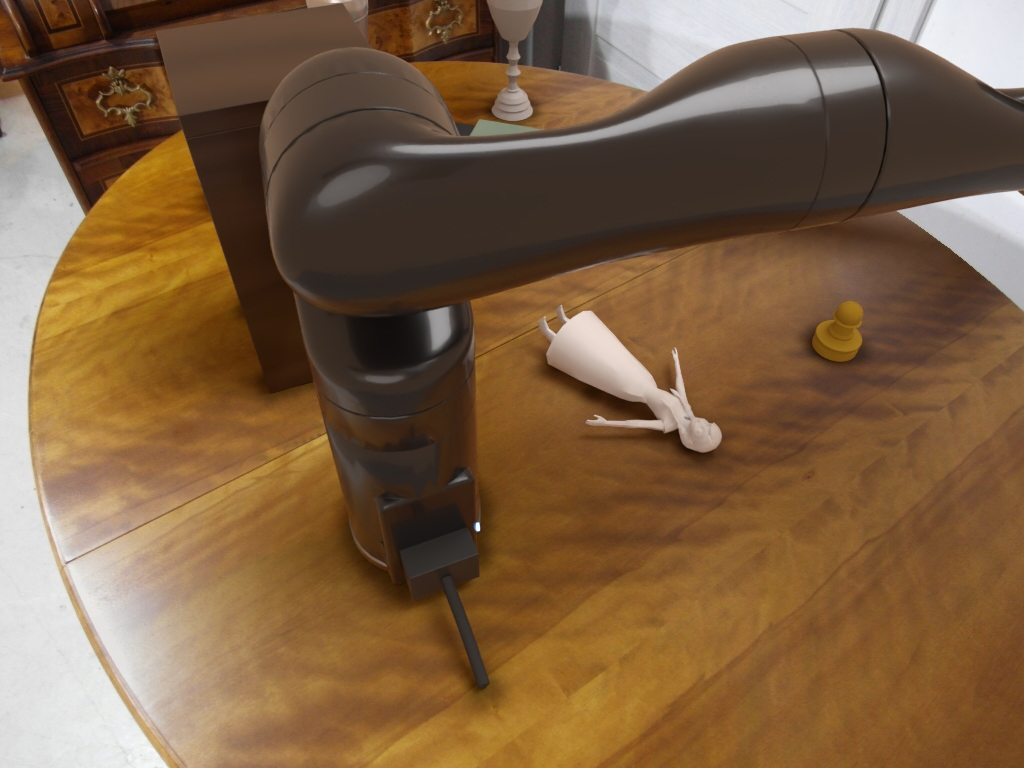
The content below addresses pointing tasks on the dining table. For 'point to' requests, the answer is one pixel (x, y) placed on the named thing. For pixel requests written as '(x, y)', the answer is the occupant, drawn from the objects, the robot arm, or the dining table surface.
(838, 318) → the chess piece
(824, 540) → the dining table surface
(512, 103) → the chalice
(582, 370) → the woman figurine
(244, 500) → the dining table surface
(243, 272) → the tall wooden pillar
